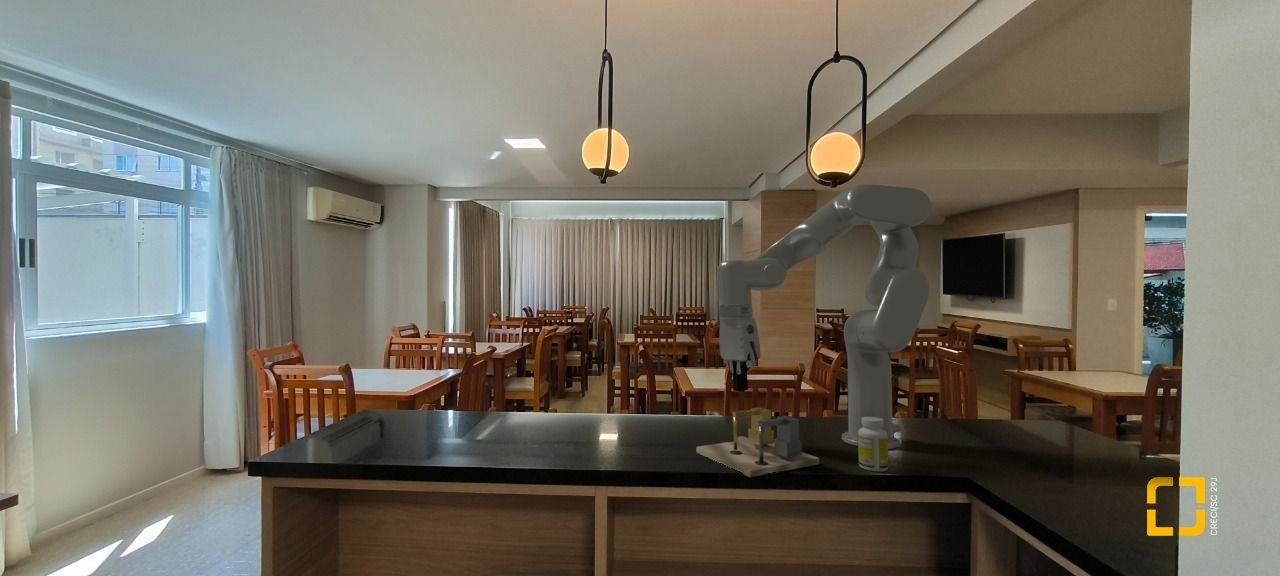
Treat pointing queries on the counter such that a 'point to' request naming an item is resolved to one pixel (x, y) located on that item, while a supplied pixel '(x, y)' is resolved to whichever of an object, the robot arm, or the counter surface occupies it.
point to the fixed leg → (782, 437)
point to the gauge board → (754, 457)
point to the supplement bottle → (873, 445)
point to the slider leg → (755, 425)
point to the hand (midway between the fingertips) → (740, 390)
